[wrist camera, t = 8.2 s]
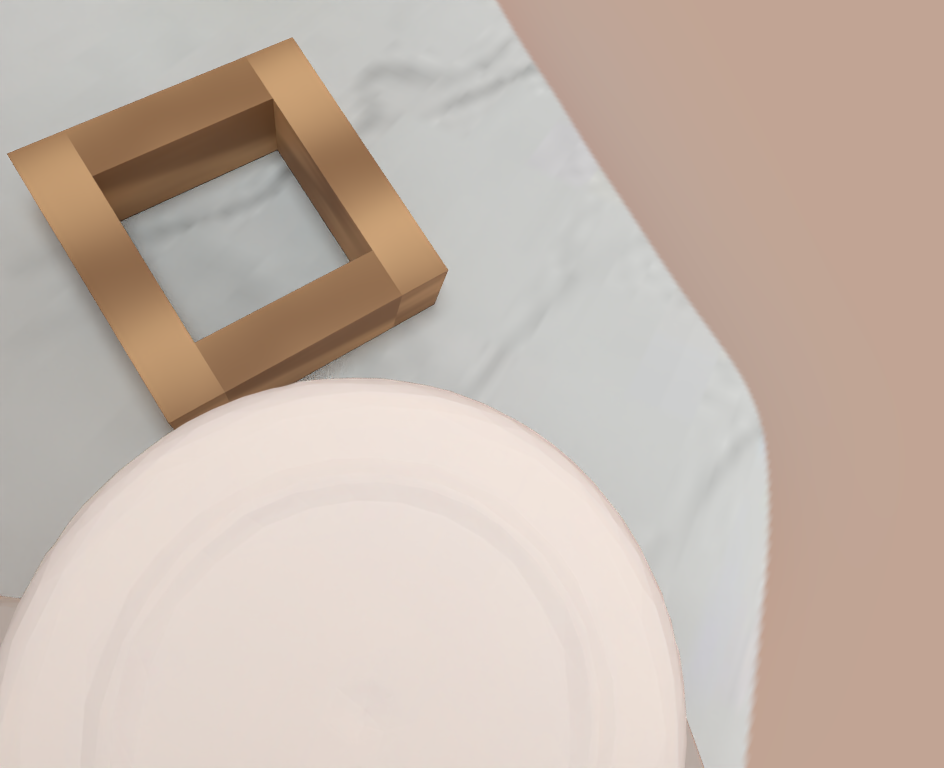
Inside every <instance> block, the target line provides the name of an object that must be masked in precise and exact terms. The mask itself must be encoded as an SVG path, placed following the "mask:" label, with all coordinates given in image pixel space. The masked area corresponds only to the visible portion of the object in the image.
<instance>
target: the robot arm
mask: <svg viewBox="0 0 944 768" xmlns="http://www.w3.org/2000/svg"><path fill="white" fill-rule="evenodd" d="M20 600H21V598H13V597H5V596H0V646H1V644H2V641H3V639H4V637H5V634H6V632H7V629H8V627H9V624H10V622H11V620H12V617H13V615H14V612H15V610H16V607H17V605H18V603H19V602H20ZM686 735H687V747H686V759H685V768H704V766H703V763H702V760H701V757H700V755H699V752H698V749H697V746H696V743H695V741H694V738H693V735H692V732H691V730H690V727H689V724H688V721H687V718H686Z"/></svg>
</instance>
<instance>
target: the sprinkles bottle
mask: <svg viewBox="0 0 944 768" xmlns="http://www.w3.org/2000/svg"><path fill="white" fill-rule="evenodd" d="M686 747H687V735H686V706H685V692H684V682H683V675H682V668H681V661H680V654H679V650H678V647H677V644H676V642H675V637H674V632H673V627H672V622H671V619H670V616H669V614H668V611H667V608H666V606H665V603H664V599H663V594H662V592H661V590H660V588H659V586H658V584H657V582H656V580H655V578H654V576H653V574H652V571H651V569H650V567H649V565H648V563H647V561H646V559H645V557H644V555H643V553H642V550H641V548H640V546H639V545H638V543H637V541H636V540H635V538H634V536H633V535H632V533H631V531H630V530H629V528H628V527H627V525H626V523H625V522H624V520H623V519H622V517H621V516H620V514H619V513H618V512H617V511H616V509H615V508H614V507H613V506H612V504H611V503H610V502H609V501H608V499H607V498H606V497H605V496H604V494H603V493H602V492H601V491H600V490H599V488H598V487H597V486H596V485H595V483H594V482H593V481H592V480H591V479H590V478H589V477H588V476H587V475H586V474H585V473H584V472H583V471H582V470H581V469H580V468H579V467H578V466H577V465H576V464H575V463H574V462H573V461H572V460H571V459H570V458H568V457H567V456H566V455H565V454H564V453H563V452H561V451H560V450H559V449H558V448H557V447H555V446H554V445H553V444H552V443H550V442H549V441H547V440H546V439H544V438H543V437H542V436H541V435H539V434H538V433H537V432H535V431H534V430H532V429H530V428H529V427H527V426H525V425H524V424H522V423H520V422H518V421H517V420H515V419H513V418H511V417H509V416H507V415H505V414H503V413H501V412H499V411H497V410H496V409H494V408H492V407H490V406H488V405H486V404H484V403H481V402H478V401H476V400H473V399H470V398H468V397H465V396H462V395H460V394H457V393H454V392H452V391H448V390H444V389H439V388H435V387H431V386H427V385H422V384H416V383H410V382H403V381H397V380H390V379H381V378H339V379H319V380H309V381H300V382H296V383H293V384H289V385H286V386H282V387H277V388H272V389H268V390H265V391H261V392H258V393H254V394H251V395H247V396H244V397H241V398H239V399H236V400H234V401H231V402H229V403H227V404H224V405H222V406H219V407H217V408H214V409H212V410H210V411H208V412H206V413H204V414H202V415H200V416H198V417H196V418H194V419H192V420H190V421H188V422H186V423H185V424H183V425H182V426H180V427H178V428H177V429H175V430H173V431H172V432H170V433H169V434H167V435H165V436H164V437H163V438H161V439H160V440H159V441H157V442H156V443H155V444H153V445H152V446H151V447H149V448H148V449H147V450H145V451H144V452H143V453H141V454H140V455H139V456H138V457H136V458H135V459H134V460H132V461H131V462H130V463H128V464H127V465H126V466H125V467H123V468H122V469H121V470H119V471H118V472H117V473H116V474H115V475H114V476H113V477H112V478H111V479H110V480H109V481H107V482H106V483H105V484H104V485H103V486H102V487H101V488H100V489H99V490H98V491H97V492H96V493H95V494H94V495H93V496H92V497H91V498H90V499H89V500H88V501H87V502H86V503H85V504H84V505H83V506H82V507H81V508H80V510H79V511H78V512H77V513H76V515H75V516H74V517H73V518H72V520H71V521H70V522H69V523H68V525H67V526H66V528H65V529H64V531H63V532H62V534H61V535H60V536H59V538H58V539H57V541H56V542H55V544H54V545H53V546H52V547H51V549H50V550H49V551H48V552H47V553H46V555H45V557H44V558H43V560H42V562H41V564H40V566H39V567H38V569H37V571H36V573H35V575H34V576H33V578H32V580H31V582H30V584H29V585H28V587H27V589H26V591H25V593H24V594H23V596H22V598H21V600H20V602H19V603H18V605H17V607H16V610H15V612H14V615H13V617H12V620H11V622H10V624H9V627H8V629H7V632H6V634H5V637H4V639H3V641H2V644H1V646H0V768H685V759H686Z"/></svg>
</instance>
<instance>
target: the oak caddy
mask: <svg viewBox="0 0 944 768" xmlns="http://www.w3.org/2000/svg"><path fill="white" fill-rule="evenodd" d="M275 150H278V151H279V153H280V154H281V156H282V157H283V159H284V160H285V162H286V164H287V165H288V167H289V168H290V170H291V171H292V173H293V174H294V176H295V177H296V179H297V180H298V182H299V183H300V185H301V187H302V188H303V190H304V191H305V193H306V194H307V196H308V197H309V199H310V200H311V202H312V203H313V205H314V206H315V208H316V210H317V211H318V213H319V214H320V216H321V217H322V219H323V220H324V222H325V223H326V225H327V226H328V228H329V229H330V231H331V233H332V234H333V236H334V237H335V239H336V240H337V242H338V243H339V245H340V246H341V248H342V249H343V251H344V252H345V254H346V256H347V257H348V259H349V260H350V262H349V263H347V264H345V265H343V266H341V267H339V268H338V269H336V270H334V271H332V272H330V273H328V274H326V275H324V276H322V277H320V278H318V279H316V280H314V281H313V282H311V283H309V284H307V285H305V286H303V287H301V288H299V289H297V290H295V291H293V292H291V293H289V294H288V295H286V296H284V297H282V298H280V299H278V300H276V301H274V302H272V303H270V304H268V305H266V306H264V307H263V308H261V309H259V310H257V311H255V312H253V313H251V314H249V315H247V316H245V317H243V318H241V319H239V320H238V321H236V322H234V323H232V324H230V325H228V326H226V327H224V328H222V329H220V330H218V331H216V332H214V333H213V334H211V335H209V336H207V337H205V338H203V339H201V340H199V341H197V342H195V343H194V341H193V340H192V338H191V336H190V335H189V333H188V331H187V330H186V328H185V327H184V325H183V323H182V322H181V320H180V318H179V317H178V315H177V314H176V312H175V310H174V309H173V307H172V305H171V304H170V302H169V301H168V299H167V297H166V296H165V294H164V292H163V291H162V289H161V288H160V286H159V284H158V283H157V281H156V279H155V278H154V276H153V274H152V273H151V271H150V270H149V268H148V266H147V265H146V263H145V261H144V260H143V258H142V257H141V255H140V253H139V252H138V250H137V248H136V247H135V245H134V244H133V242H132V240H131V239H130V237H129V235H128V234H127V232H126V231H125V229H124V227H123V226H122V224H121V222H120V221H121V220H124V219H126V218H128V217H130V216H132V215H135V214H137V213H139V212H141V211H143V210H146V209H148V208H150V207H152V206H154V205H157V204H159V203H161V202H163V201H165V200H168V199H170V198H172V197H174V196H176V195H179V194H181V193H183V192H185V191H187V190H190V189H192V188H194V187H196V186H198V185H201V184H203V183H205V182H207V181H209V180H212V179H214V178H216V177H218V176H220V175H223V174H225V173H227V172H229V171H231V170H234V169H236V168H238V167H240V166H242V165H245V164H247V163H249V162H251V161H253V160H256V159H258V158H260V157H262V156H264V155H267V154H269V153H271V152H273V151H275ZM7 155H8V156H9V158H10V160H11V161H12V163H13V165H14V166H15V168H16V170H17V171H18V173H19V175H20V176H21V178H22V180H23V181H24V183H25V185H26V186H27V188H28V190H29V191H30V193H31V195H32V196H33V198H34V200H35V201H36V203H37V205H38V206H39V208H40V210H41V211H42V213H43V215H44V216H45V218H46V220H47V221H48V223H49V225H50V226H51V228H52V230H53V231H54V233H55V235H56V236H57V238H58V240H59V241H60V243H61V245H62V246H63V248H64V250H65V251H66V253H67V255H68V256H69V258H70V260H71V261H72V263H73V265H74V266H75V268H76V270H77V271H78V273H79V275H80V276H81V278H82V280H83V281H84V283H85V285H86V286H87V288H88V290H89V291H90V293H91V295H92V296H93V298H94V300H95V301H96V303H97V305H98V306H99V308H100V310H101V311H102V313H103V315H104V316H105V318H106V320H107V321H108V323H109V325H110V326H111V328H112V330H113V331H114V333H115V335H116V336H117V338H118V340H119V341H120V343H121V345H122V346H123V348H124V350H125V351H126V353H127V355H128V356H129V358H130V360H131V361H132V363H133V365H134V366H135V368H136V370H137V371H138V373H139V374H140V376H141V378H142V379H143V381H144V383H145V384H146V386H147V388H148V389H149V391H150V393H151V394H152V396H153V398H154V399H155V401H156V403H157V404H158V406H159V408H160V409H161V411H162V413H163V414H164V416H165V418H166V419H167V421H168V423H169V424H170V425H171V426H172V428H173V429H174V430H175V429H177V428H178V427H180V426H182V425H183V424H185V423H186V422H188V421H190V420H192V419H194V418H196V417H198V416H200V415H202V414H204V413H206V412H208V411H210V410H212V409H214V408H217V407H219V406H222V405H224V404H227V403H229V402H231V401H234V400H236V399H239V398H241V397H244V396H247V395H251V394H254V393H258V392H261V391H265V390H268V389H272V388H277V387H282V386H286V385H289V384H292V383H294V382H296V381H298V380H300V379H301V378H303V377H305V376H307V375H309V374H310V373H312V372H314V371H316V370H317V369H319V368H321V367H323V366H325V365H326V364H328V363H330V362H332V361H334V360H335V359H337V358H339V357H341V356H342V355H344V354H346V353H348V352H350V351H351V350H353V349H355V348H357V347H359V346H360V345H362V344H364V343H366V342H367V341H369V340H371V339H373V338H375V337H376V336H378V335H380V334H382V333H384V332H385V331H387V330H389V329H391V328H392V327H394V326H396V325H398V324H400V323H401V322H403V321H405V320H407V319H409V318H410V317H412V316H414V315H416V314H417V313H419V312H421V311H423V310H425V309H426V308H428V307H430V306H432V305H433V304H435V301H436V299H437V296H438V294H439V291H440V289H441V286H442V284H443V282H444V279H445V277H446V274H447V272H448V269H447V268H446V266H445V265H444V263H443V262H442V260H441V259H440V257H439V256H438V254H437V253H436V251H435V250H434V248H433V247H432V245H431V244H430V242H429V241H428V239H427V238H426V236H425V235H424V233H423V232H422V230H421V229H420V227H419V226H418V224H417V223H416V221H415V220H414V218H413V217H412V215H411V214H410V212H409V211H408V209H407V208H406V206H405V205H404V203H403V202H402V200H401V199H400V197H399V196H398V194H397V193H396V191H395V190H394V188H393V187H392V185H391V184H390V182H389V181H388V179H387V178H386V176H385V175H384V173H383V172H382V170H381V169H380V167H379V166H378V164H377V163H376V161H375V160H374V158H373V157H372V155H371V154H370V152H369V151H368V149H367V148H366V147H365V145H364V144H363V142H362V141H361V139H360V138H359V136H358V135H357V133H356V132H355V130H354V129H353V127H352V126H351V124H350V123H349V121H348V120H347V118H346V117H345V115H344V114H343V112H342V111H341V109H340V108H339V106H338V105H337V103H336V102H335V100H334V99H333V97H332V96H331V94H330V93H329V91H328V90H327V88H326V87H325V85H324V84H323V82H322V81H321V79H320V78H319V76H318V75H317V73H316V72H315V70H314V69H313V67H312V66H311V64H310V63H309V61H308V60H307V58H306V57H305V55H304V54H303V52H302V51H301V49H300V48H299V46H298V45H297V43H296V42H295V40H294V39H293V37H292V38H289V39H287V40H285V41H282V42H280V43H277V44H275V45H272V46H270V47H267V48H265V49H262V50H260V51H258V52H255V53H253V54H250V55H248V56H245V57H243V58H240V59H238V60H236V61H233V62H231V63H228V64H226V65H223V66H221V67H218V68H216V69H213V70H211V71H209V72H206V73H204V74H201V75H199V76H196V77H194V78H191V79H189V80H186V81H184V82H182V83H179V84H177V85H174V86H172V87H169V88H167V89H164V90H162V91H160V92H157V93H155V94H152V95H150V96H147V97H145V98H142V99H140V100H137V101H135V102H133V103H130V104H128V105H125V106H123V107H120V108H118V109H115V110H113V111H111V112H108V113H106V114H103V115H101V116H98V117H96V118H93V119H91V120H88V121H86V122H84V123H81V124H79V125H76V126H74V127H71V128H69V129H66V130H64V131H61V132H59V133H57V134H54V135H52V136H49V137H47V138H44V139H42V140H39V141H37V142H35V143H32V144H30V145H27V146H25V147H22V148H20V149H17V150H15V151H12V152H10V153H8V154H7Z"/></svg>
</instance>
